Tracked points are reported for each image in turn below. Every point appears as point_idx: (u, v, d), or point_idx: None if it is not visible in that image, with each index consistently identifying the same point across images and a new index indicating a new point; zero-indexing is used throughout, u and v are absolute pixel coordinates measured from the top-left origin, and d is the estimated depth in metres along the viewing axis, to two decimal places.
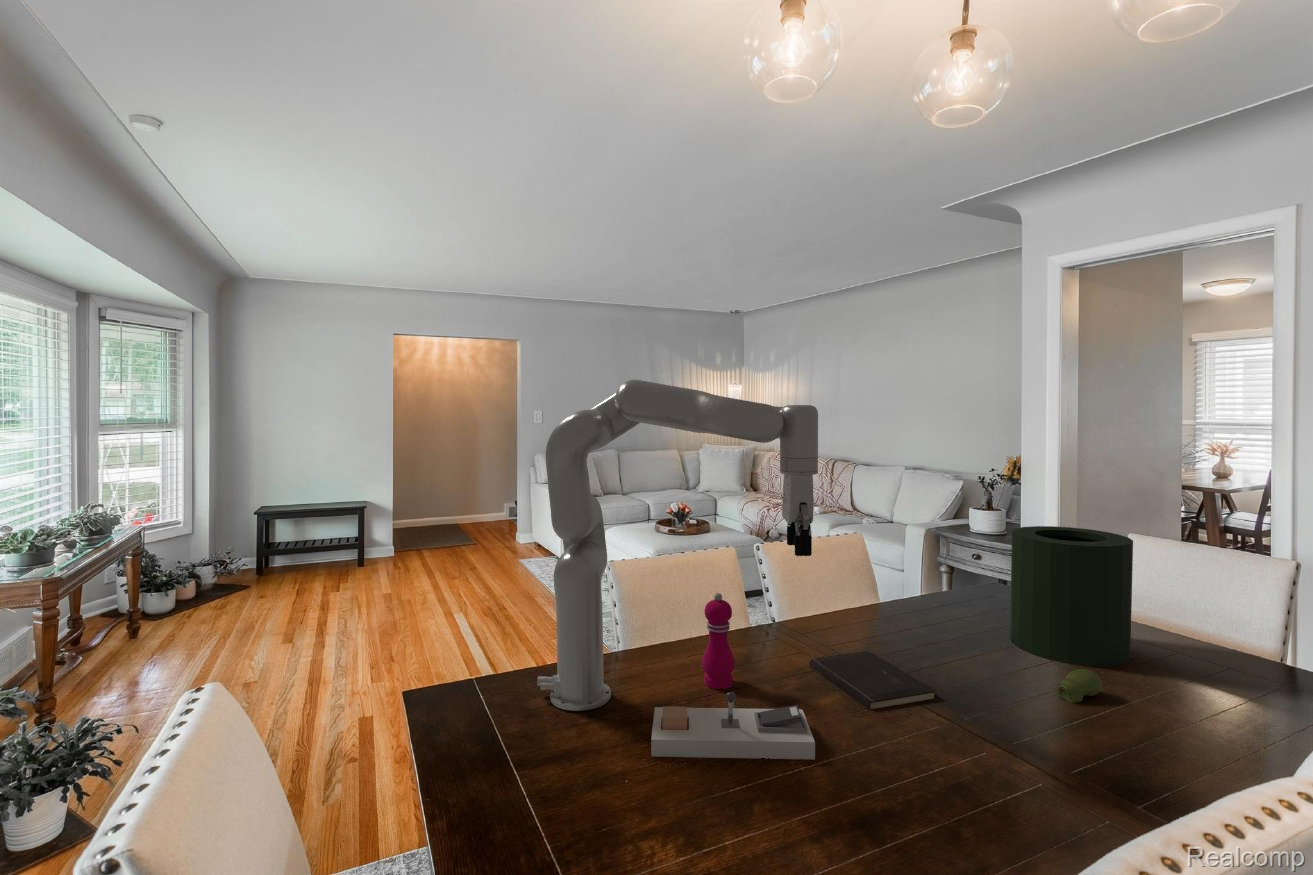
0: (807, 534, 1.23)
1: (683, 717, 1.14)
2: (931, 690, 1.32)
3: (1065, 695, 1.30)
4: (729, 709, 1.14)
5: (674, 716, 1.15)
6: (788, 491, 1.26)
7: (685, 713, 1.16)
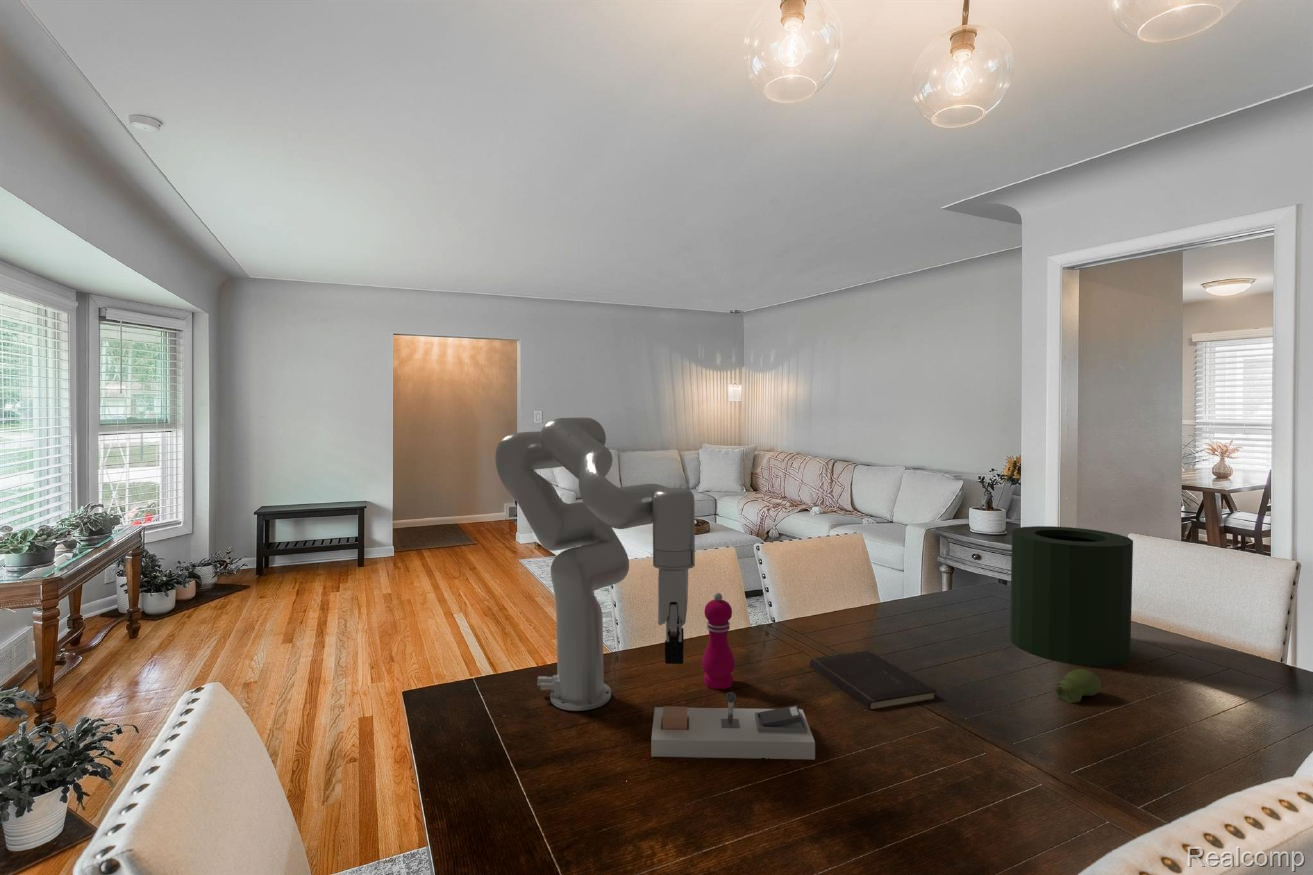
0: (677, 641, 1.11)
1: (683, 717, 1.14)
2: (931, 690, 1.32)
3: (1064, 695, 1.30)
4: (729, 709, 1.14)
5: (674, 716, 1.15)
6: (658, 588, 1.12)
7: (685, 713, 1.16)
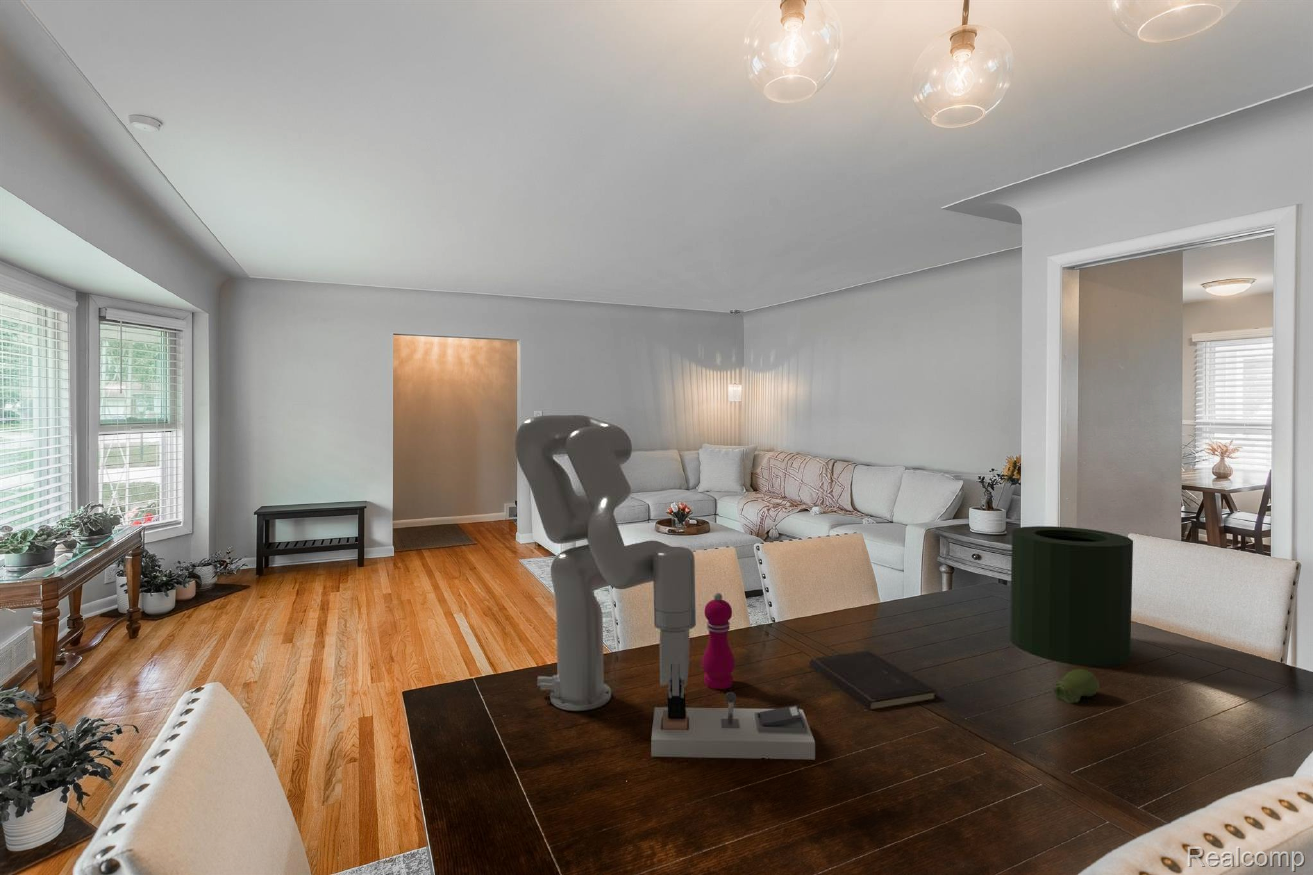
0: (679, 697, 1.14)
1: (683, 721, 1.14)
2: (931, 690, 1.32)
3: (1062, 696, 1.30)
4: (729, 709, 1.14)
5: (674, 720, 1.15)
6: (660, 649, 1.12)
7: None
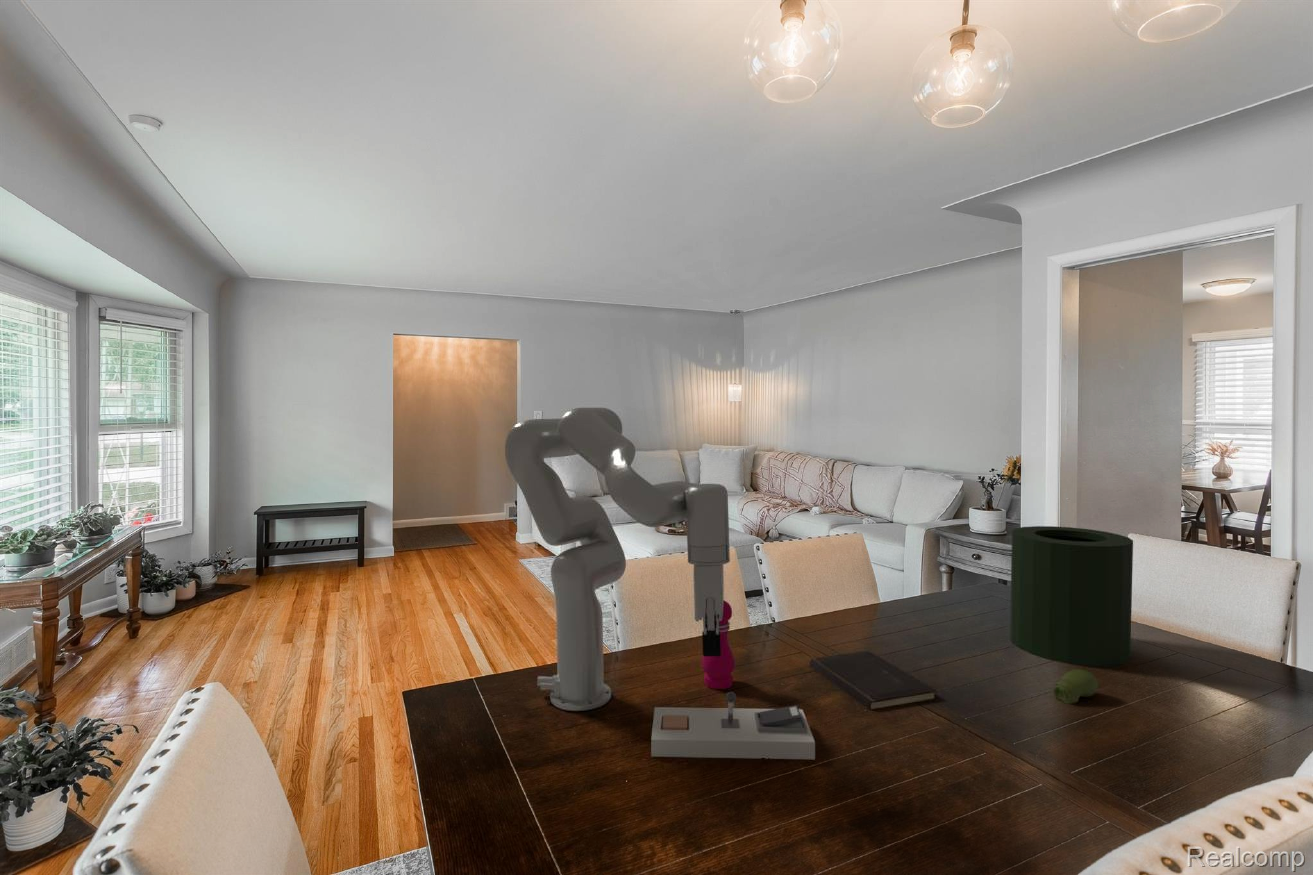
0: (714, 633, 1.13)
1: (684, 726, 1.14)
2: (931, 690, 1.32)
3: (1061, 696, 1.30)
4: (729, 709, 1.14)
5: (674, 725, 1.15)
6: (694, 584, 1.11)
7: (685, 722, 1.16)
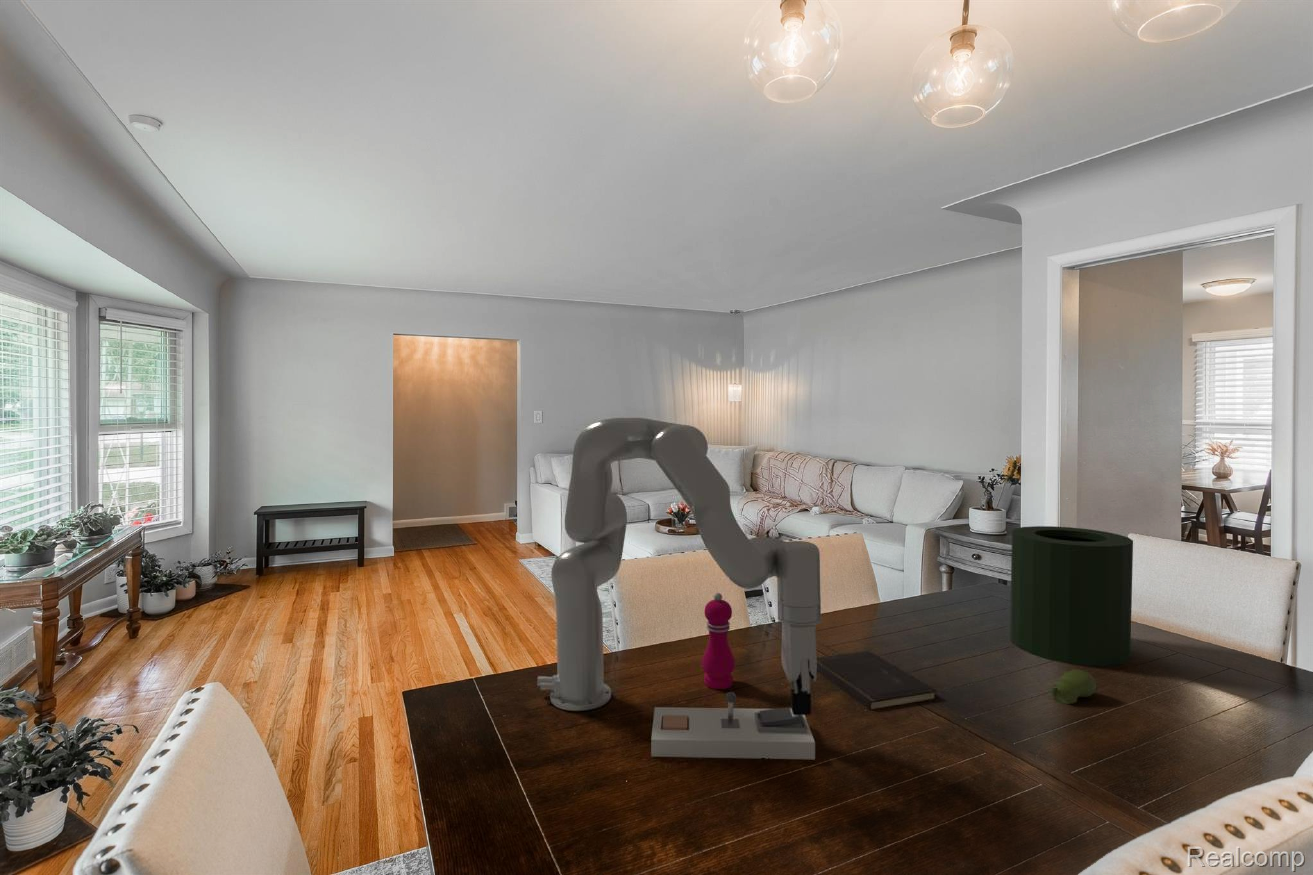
0: (806, 692, 1.13)
1: (684, 726, 1.14)
2: (931, 690, 1.32)
3: (1060, 696, 1.30)
4: (729, 709, 1.14)
5: (674, 725, 1.15)
6: (788, 644, 1.11)
7: (685, 722, 1.16)
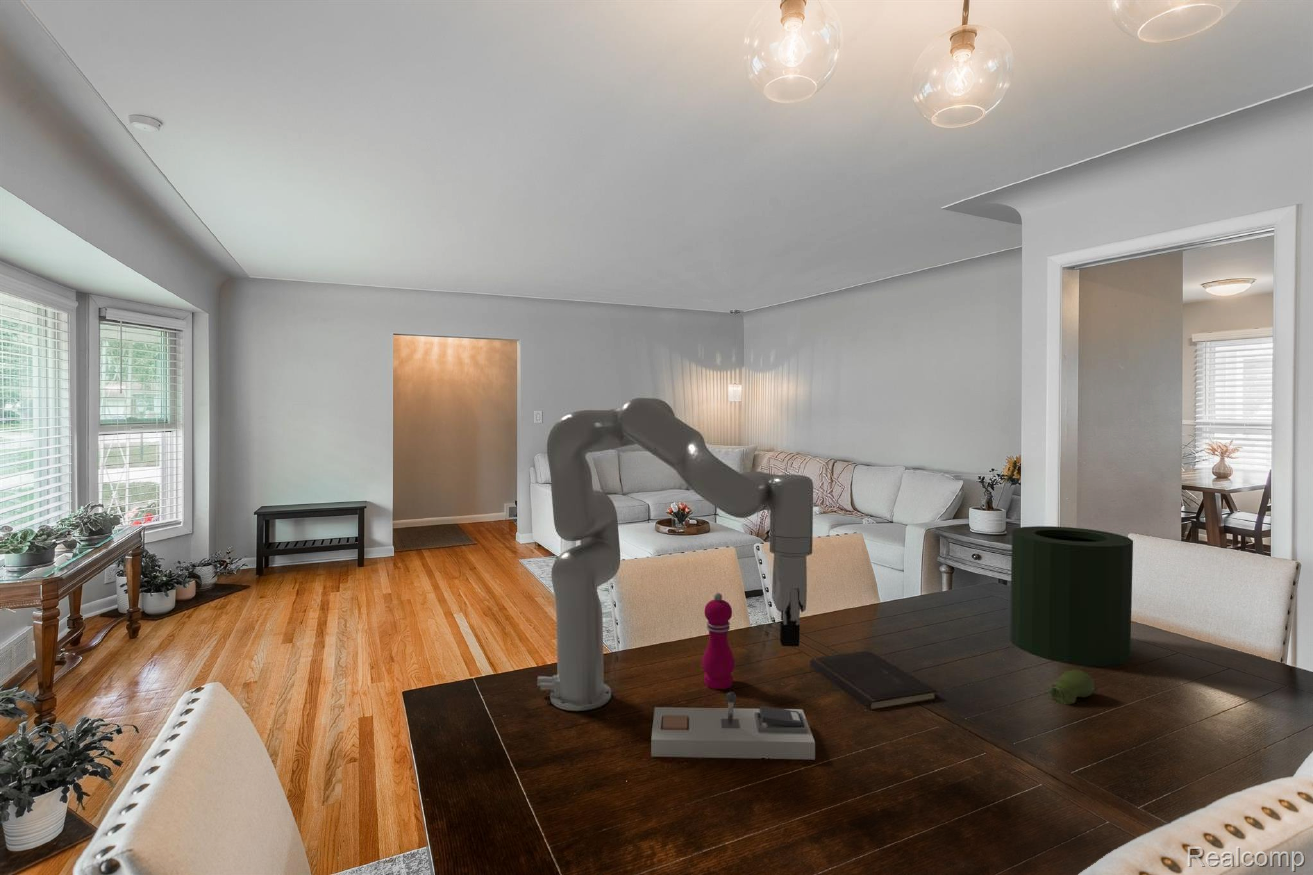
0: (794, 624, 1.13)
1: (684, 726, 1.14)
2: (932, 690, 1.32)
3: (1058, 697, 1.30)
4: (729, 709, 1.14)
5: (674, 725, 1.15)
6: (778, 574, 1.11)
7: (685, 722, 1.16)
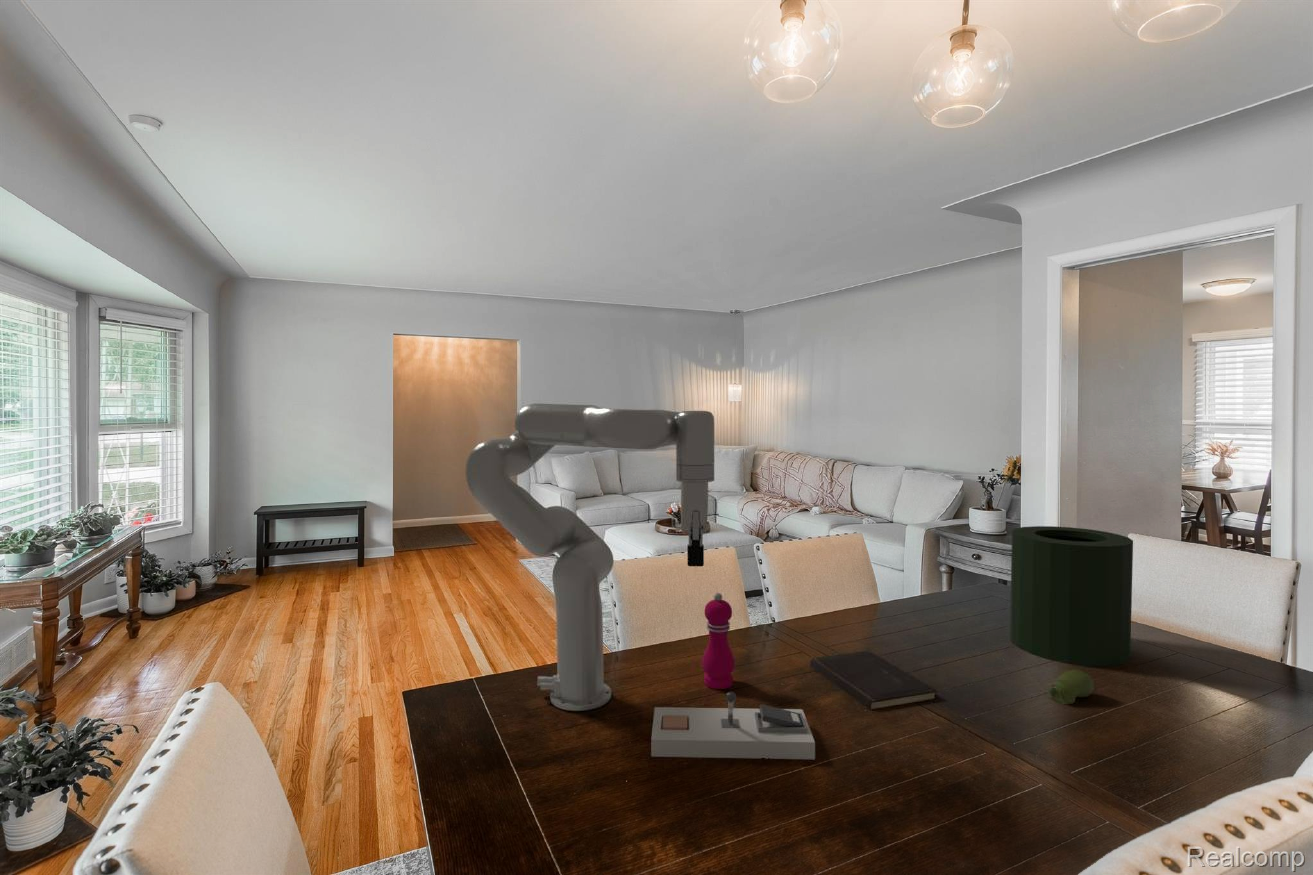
0: (698, 545, 1.25)
1: (684, 726, 1.14)
2: (932, 690, 1.32)
3: (1058, 697, 1.30)
4: (729, 709, 1.14)
5: (674, 725, 1.15)
6: (681, 499, 1.23)
7: (685, 722, 1.16)
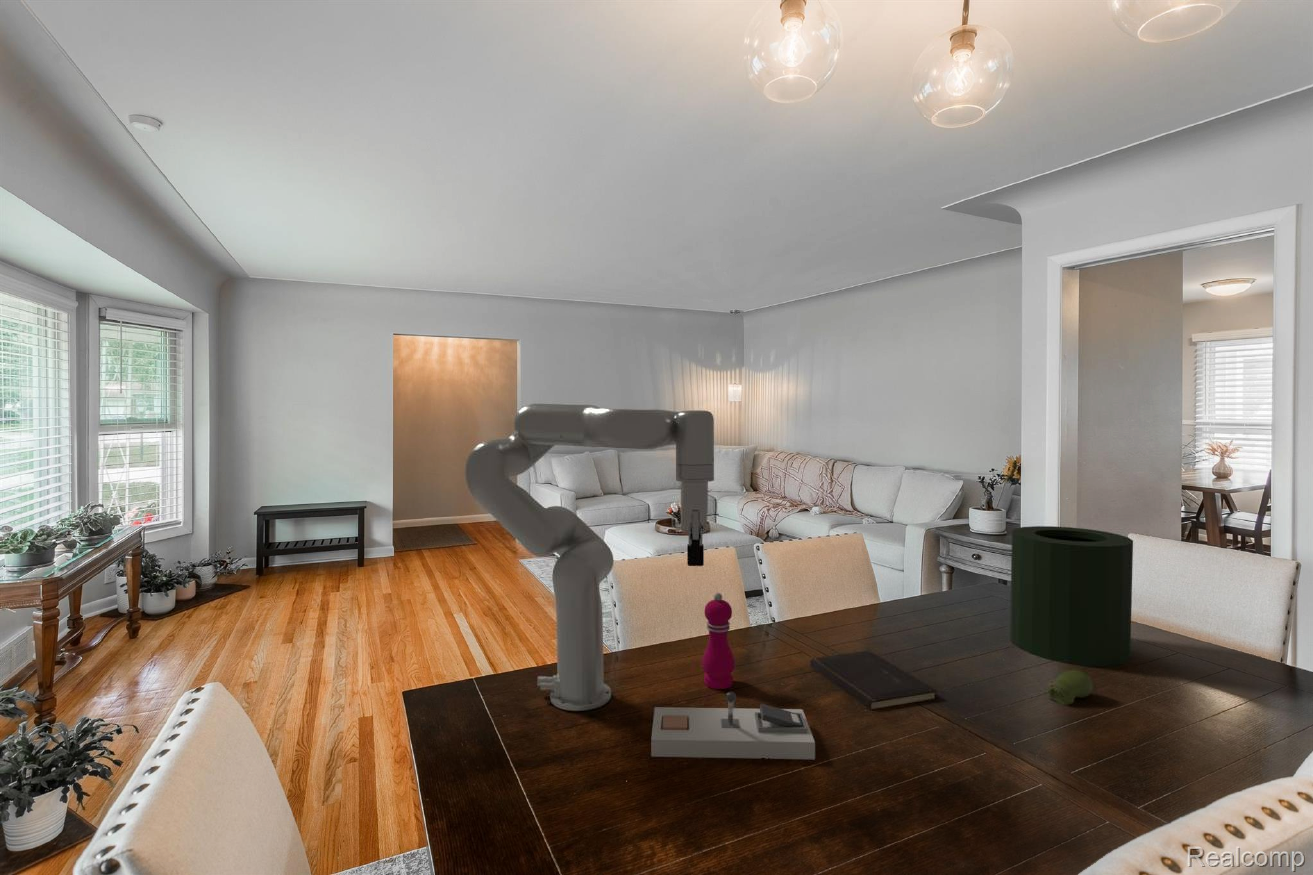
0: (698, 544, 1.25)
1: (684, 726, 1.14)
2: (932, 690, 1.32)
3: (1057, 697, 1.29)
4: (729, 709, 1.14)
5: (674, 725, 1.15)
6: (681, 499, 1.23)
7: (685, 722, 1.16)
